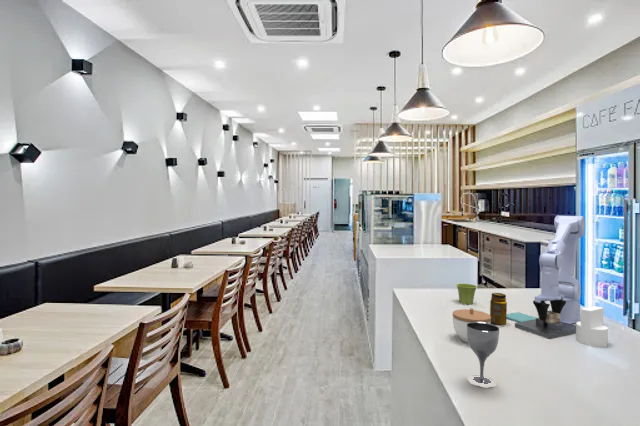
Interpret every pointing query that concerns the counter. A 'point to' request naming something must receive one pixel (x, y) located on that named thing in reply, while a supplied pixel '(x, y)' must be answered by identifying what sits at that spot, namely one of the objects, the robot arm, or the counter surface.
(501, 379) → the counter surface
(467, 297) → the plant pot
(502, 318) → the condiment
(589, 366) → the counter surface
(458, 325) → the lidded bowl
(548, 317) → the collar
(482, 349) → the wine glass
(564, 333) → the brushed metal panel
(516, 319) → the mat
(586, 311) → the cylinder with rectangular tab
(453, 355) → the counter surface
